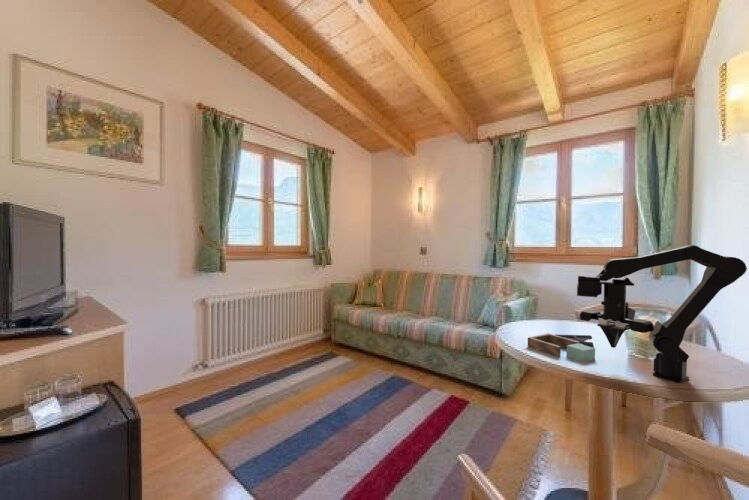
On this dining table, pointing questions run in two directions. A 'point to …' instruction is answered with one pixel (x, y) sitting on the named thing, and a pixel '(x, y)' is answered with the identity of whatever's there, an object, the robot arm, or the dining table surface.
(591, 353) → the pale green block
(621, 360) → the dining table surface
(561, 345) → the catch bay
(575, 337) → the bracket
